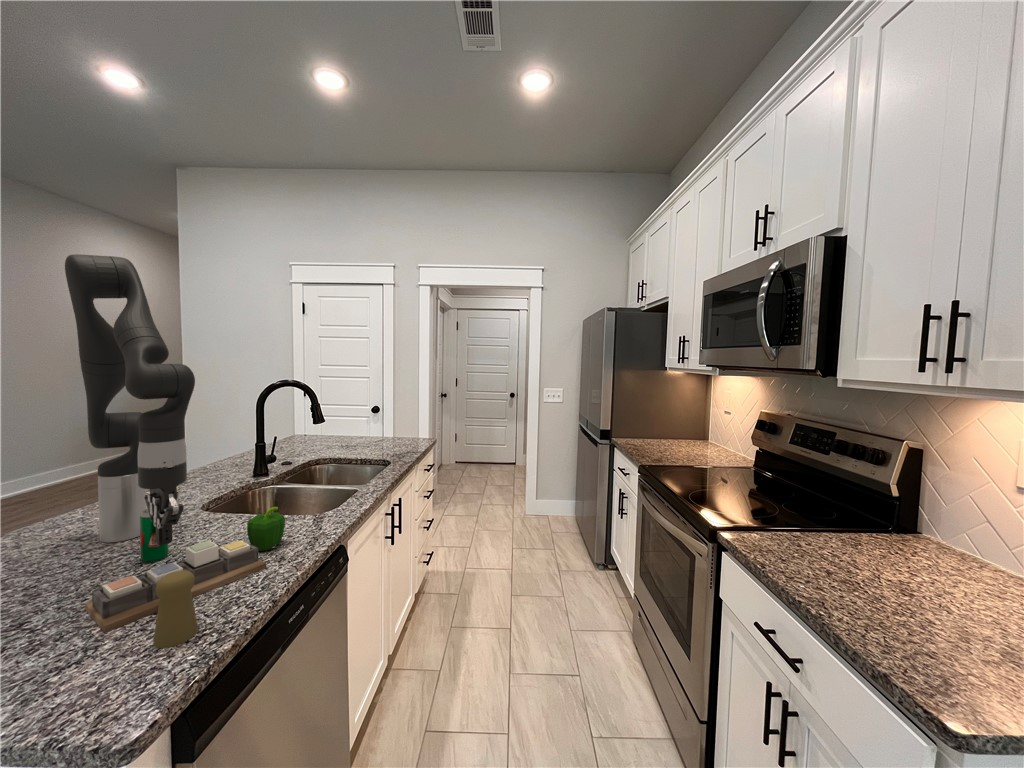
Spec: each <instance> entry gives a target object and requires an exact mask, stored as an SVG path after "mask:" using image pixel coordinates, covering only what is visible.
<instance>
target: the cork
mask: <svg viewBox="0 0 1024 768" xmlns="http://www.w3.org/2000/svg"><path fill="white" fill-rule="evenodd" d="M194 582H195V577H194V575H193V574H192V573H191V572H190V571H185V570H182V571H175V572H172V573H169V574H167V575H165V576H163V577H162V578H161V579H159V581H158V582H157V584H156V588H155V591H156V594H157V596H158V597H159V598H160V601H159V607H158V612H157V614H156V621H155V622H156V623H155V628H154V632H153V633H154V634H153V640H152V645H153V647H155V648H157V649H166V648H172V647H176V646H179V645H181V644H183V643H185V642H187V641H189V640H191V639H192V638H194V637H195V636H196V634H197V633H198V631H199V625H198V622H197V621H198V620H197V615H196V610H195V604H194V600H193V598H192V594H191V589H192V587H193V585H194Z"/></svg>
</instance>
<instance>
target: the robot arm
mask: <svg viewBox="0 0 1024 768" xmlns="http://www.w3.org/2000/svg"><path fill="white" fill-rule="evenodd" d="M64 272H65V279H66V282H67V283H66V284H67V288H68V292H69V296H70V301H71V304H72V305H71V306H72V308H73V313H74V317H75V323H76V331H77V333H76V334H77V342H78V344H77V345H78V357H79V361H80V369H81V373H82V380H83V385H84V391H85V397H86V409H87V412H86V414H87V415H86V416H87V432H88V434H87V435H88V439H89V442H90V444H91V446H92V447H93V448H95V449H99V450H100V449H118V448H127V447H128V448H129V450H128V451H127V452H125V453H123V454H122V455H120V456H117V457H114V458H111V459H109V460H106V461H103V462H102V463H100V464H98V466H97V492H98V493H97V494H98V534H99V542H101V543H117V542H123V541H124V542H125V541H128V540H132V539H134V538H135V539H136V538H138V537H140V515H141V514H142V511H143V510H145V509H147V508H148V512H149V516H150V520H151V521H154V526H155V527H156V526H157V527H156V543H157V544H158V545H160V546H162V545H166V544H171V543H172V542H173V526H174V525H178V523H179V521H180V519H181V515H182V513H183V510H184V508H185V507H184V504H183V503H180V504H178V501H179V500H180V492H178V491H177V487H178V486H180V485H183V483H185V482H186V481H187V479H188V474H187V473H188V472H187V471H188V470H187V468H188V465H187V464H188V463H187V461H188V460H187V455H188V453H187V445H186V439H185V437H186V435H185V428H186V427H185V423H186V422H185V419H186V414H187V410H188V407H189V403H190V402H191V399H192V395H193V392H194V391H195V390H194V389H195V386H196V378H195V375H194V372H193V370H192V369H191V368H190V367H189V366H187V365H186V364H182V363H164V362H166V361H167V360H168V358H169V355H170V353H169V348H168V346H167V344H166V342H165V341H164V339H163V337H162V335H161V333H160V331H159V330H158V328H157V325H156V324H155V320H154V319H153V316H152V313H151V310H150V306H149V303H148V299H147V296H146V292H145V289H144V287H143V284H142V280H141V276H140V275H139V272H138V271H137V269H136V267H135V265H134V264H133V263H132V262H131V260H129V259H128V258H125V257H121V256H113V255H111V256H110V255H96V254H69V255H68V256H66V259H65V261H64ZM96 299H126V304H125V306H124V307H123V309H122V310H121V312H120V314H119V315H118V316H117V318H116V320H115V322H114V323H113V326H112V325H111V324H109V323H108V321H107V320H106V319H105V318H104V317H103V316H102V315H101V314H100V312H99V311H98V310H97V309H96V307H95V303H94V300H96ZM124 388H125V390H126V392H127V393H128V394H129V395H131V396H132V397H134V398H136V399H138V400H154V399H155V400H157V399H158V400H159V399H166V400H165V403H164V404H163V405H162V406H161V407H158V408H155V409H152V410H148V411H145V412H140V411H131V412H130V411H129V412H128V411H127V412H126V411H125V412H106V411H107V409H108V406H109V405H110V403H111V402H112V401H113V400H114V398H115V397H116V396H117V395H118V394H119V393H120V392H121V391H122V390H123V389H124ZM147 490H149V493H147Z"/></svg>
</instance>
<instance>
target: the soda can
mask: <svg viewBox="0 0 1024 768" xmlns="http://www.w3.org/2000/svg"><path fill="white" fill-rule="evenodd" d="M156 527H157V526H156ZM156 527H155V526H154V521H151V520H150V516H149V512H148V508H147V509H145V510H143V511H142V514H141V515H140V536H139V549H140V552H139V553H140V555H139V556H140V560H141V562H143V563H148V564H149V563H155V562H158V561H161V560H164V559H165V558H167V556H168V555H169V554H170V553H169V552H170V549H169V547H170V545H169V544H170V543H169V544H166V545H162V546H160V545H158V544H157V543H156Z"/></svg>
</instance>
